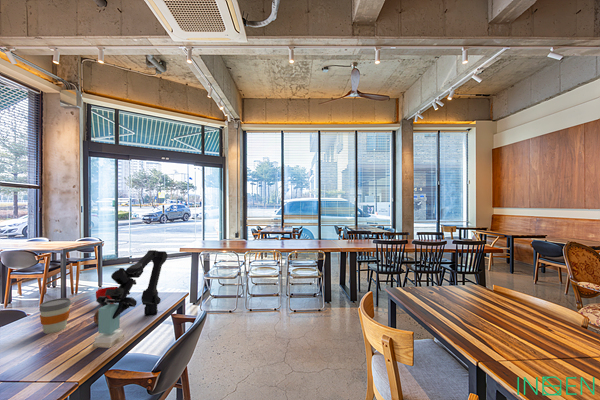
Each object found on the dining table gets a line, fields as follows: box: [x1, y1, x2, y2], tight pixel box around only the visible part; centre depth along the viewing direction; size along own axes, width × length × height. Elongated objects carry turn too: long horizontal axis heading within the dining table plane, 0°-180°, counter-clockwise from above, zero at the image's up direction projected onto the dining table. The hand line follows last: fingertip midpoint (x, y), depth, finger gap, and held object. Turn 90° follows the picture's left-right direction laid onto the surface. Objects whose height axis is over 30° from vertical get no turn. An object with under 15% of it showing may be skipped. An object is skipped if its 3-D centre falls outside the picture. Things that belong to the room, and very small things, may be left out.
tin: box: [93, 309, 99, 325], centre depth 150 cm, size 15×3×8 cm, turn 2°
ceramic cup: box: [95, 286, 119, 307], centre depth 175 cm, size 13×17×10 cm
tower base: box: [92, 333, 125, 349], centre depth 127 cm, size 9×9×2 cm
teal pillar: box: [97, 303, 121, 334], centre depth 127 cm, size 6×6×12 cm
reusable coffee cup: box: [38, 297, 72, 334], centre depth 140 cm, size 13×13×15 cm
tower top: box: [94, 329, 124, 343], centre depth 127 cm, size 8×8×2 cm
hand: (107, 318), depth 126 cm, fingers closed on teal pillar, 6 cm apart
